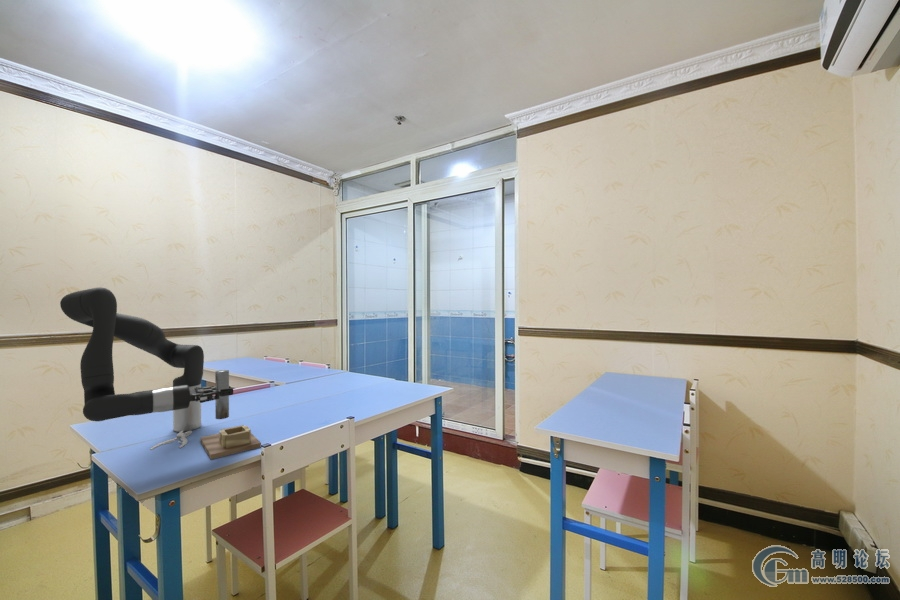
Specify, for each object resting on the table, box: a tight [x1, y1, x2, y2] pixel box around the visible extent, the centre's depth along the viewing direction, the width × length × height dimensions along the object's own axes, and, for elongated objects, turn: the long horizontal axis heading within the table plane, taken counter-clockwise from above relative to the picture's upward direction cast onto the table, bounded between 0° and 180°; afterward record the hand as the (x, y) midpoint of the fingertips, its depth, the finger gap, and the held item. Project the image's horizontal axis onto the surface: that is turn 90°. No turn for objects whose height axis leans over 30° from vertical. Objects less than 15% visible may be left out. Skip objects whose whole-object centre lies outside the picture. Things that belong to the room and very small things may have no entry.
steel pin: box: [214, 369, 230, 420], centre depth 129 cm, size 4×4×16 cm
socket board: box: [199, 424, 262, 460], centre depth 133 cm, size 20×15×6 cm
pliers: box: [149, 430, 193, 451], centre depth 136 cm, size 10×2×15 cm
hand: (231, 390), depth 131 cm, fingers closed on steel pin, 4 cm apart
